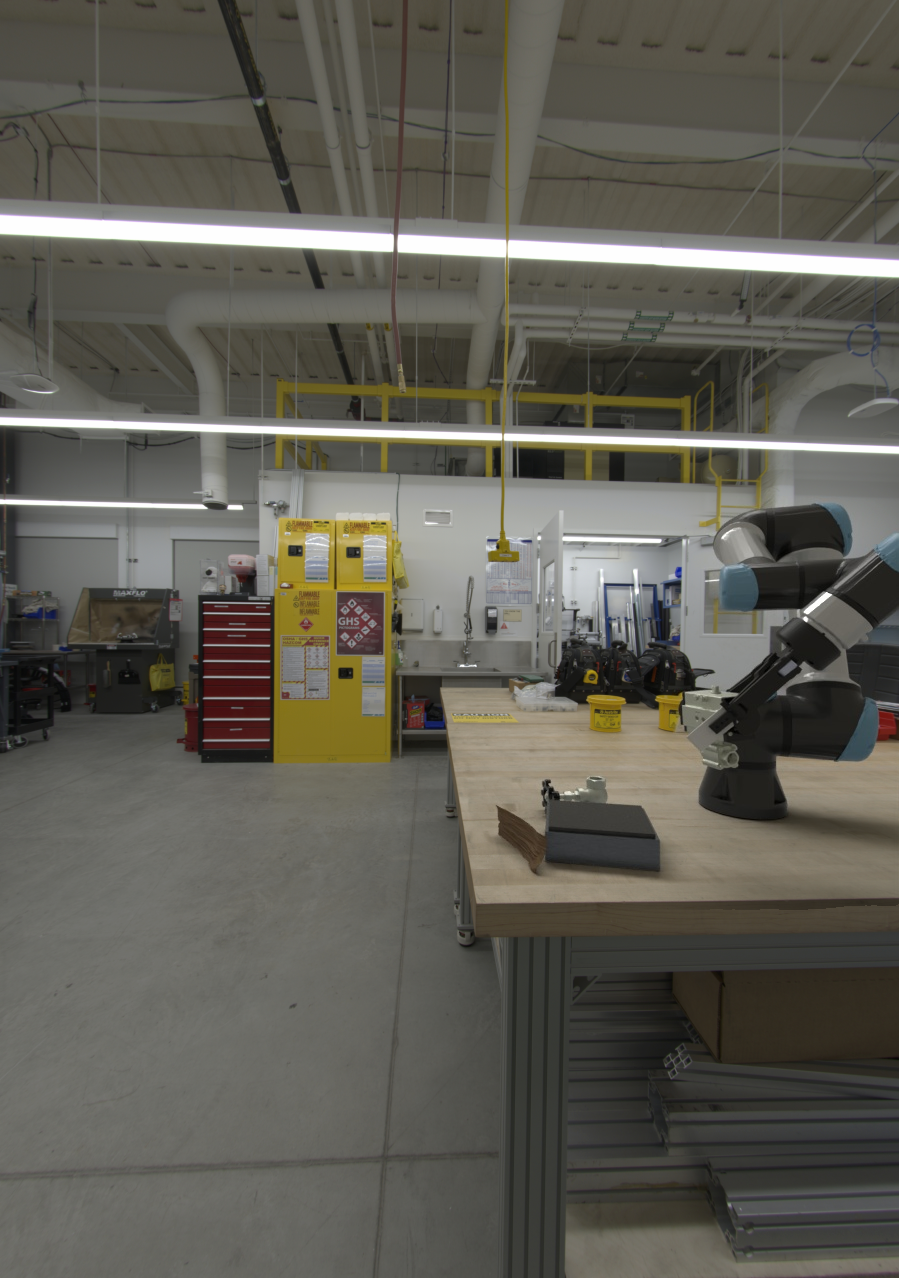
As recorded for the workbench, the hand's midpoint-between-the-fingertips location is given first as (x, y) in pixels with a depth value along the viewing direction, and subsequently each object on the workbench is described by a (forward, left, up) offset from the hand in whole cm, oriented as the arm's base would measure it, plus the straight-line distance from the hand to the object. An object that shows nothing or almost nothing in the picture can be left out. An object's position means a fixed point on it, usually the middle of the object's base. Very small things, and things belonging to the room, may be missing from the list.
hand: (694, 737), depth 77 cm
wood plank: (+27, +4, -18) cm, 32 cm away
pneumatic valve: (-3, +1, -4) cm, 5 cm away
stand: (+14, 0, -18) cm, 23 cm away
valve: (+17, -16, -18) cm, 30 cm away
